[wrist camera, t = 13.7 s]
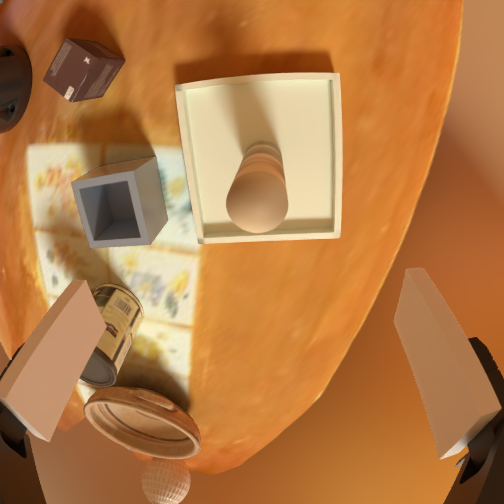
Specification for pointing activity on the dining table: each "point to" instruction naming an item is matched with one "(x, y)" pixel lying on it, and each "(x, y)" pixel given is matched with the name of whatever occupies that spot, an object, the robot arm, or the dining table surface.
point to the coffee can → (113, 333)
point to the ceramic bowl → (143, 422)
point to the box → (82, 70)
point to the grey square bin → (121, 203)
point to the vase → (165, 480)
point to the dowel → (259, 190)
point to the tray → (270, 130)
